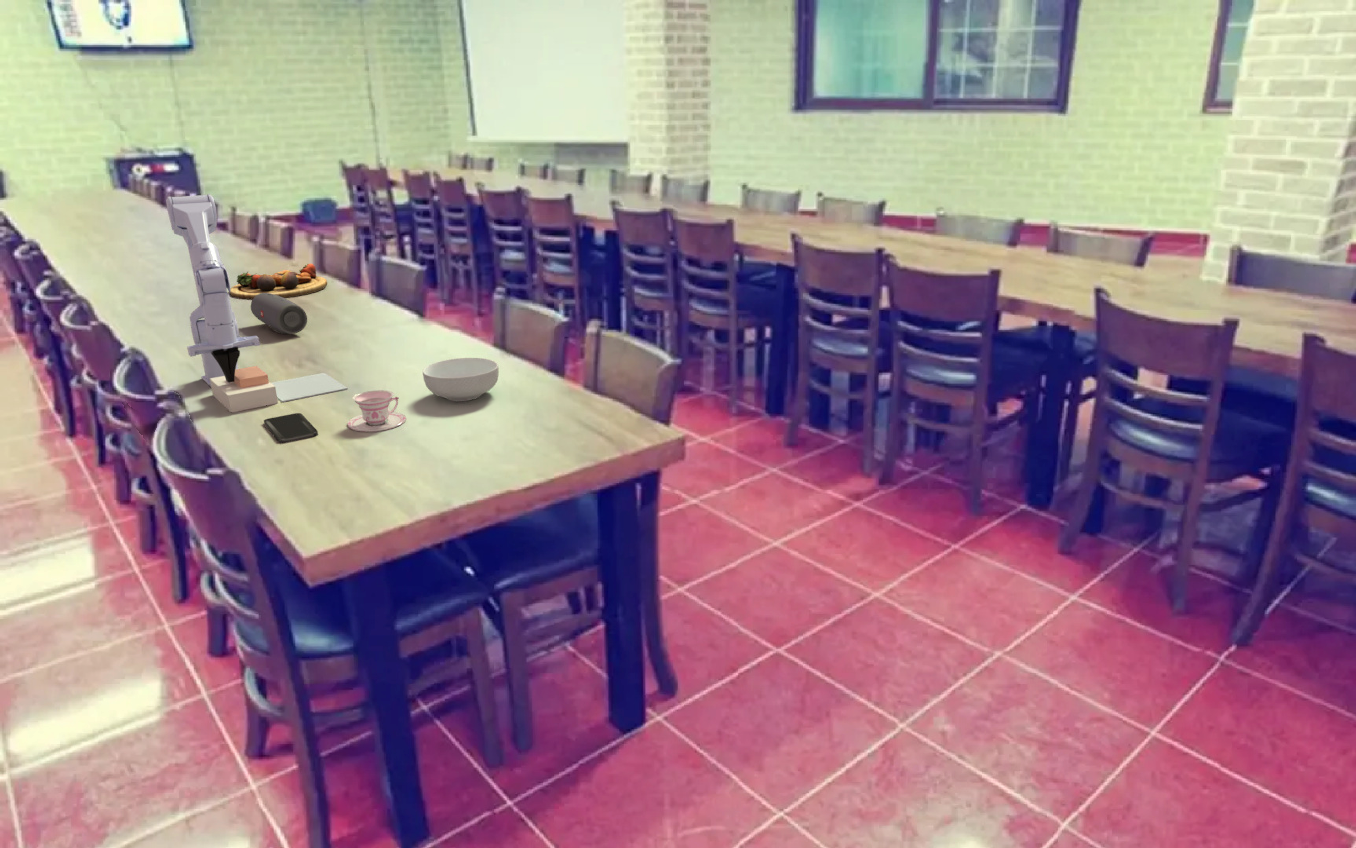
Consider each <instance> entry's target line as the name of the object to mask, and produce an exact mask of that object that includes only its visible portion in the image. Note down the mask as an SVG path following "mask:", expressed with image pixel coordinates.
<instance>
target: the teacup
mask: <svg viewBox="0 0 1356 848" xmlns="http://www.w3.org/2000/svg"><path fill="white" fill-rule="evenodd" d="M394 396H395V393H394V392H393V391H390V390H369V391H368V390H367V391H364V392H360V393H357V394H354V395H353V396H352V398H351V399H352V400H353V401H354V402H355V403H356V404H357V405H358V407H359V409H360V410H361V414H359V415H356V416H354V417H352V418H351V419H349V420H348V421H347V423H346V424H347V427H348V429H349V430H350V429H351V430H352V431H357V432H366V433H369V432H371V433H373V432H383V431H387V430H391V429H394V428H397V427H400V426H401V425H403V424H404V423H405V422H406V420H407V417H406V416H405V414H402V412H398V411H396V409H397V407H398V404H399V397H398V396H395V397H394ZM392 401H395V404H394V407H393V408H392V410H390V409H389V406H390V403H391V402H392ZM386 421H388V422H387V423H386ZM367 423H368V424H367ZM384 423H385V424H384Z"/></svg>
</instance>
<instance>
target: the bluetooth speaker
mask: <svg viewBox="0 0 1356 848" xmlns="http://www.w3.org/2000/svg"><path fill="white" fill-rule="evenodd" d="M250 310H251V314H253V316H254V317H255V318H256V319H257V320H259V321H260V322H262V323H263V324H265V325H267V326H269V327H270V328H271V330H273V331H274V332H276V333H278V334H281V335H286V334H287V335H288V334H291V335H292V334H293V335H294V334H297V333H300V332H302V331H303V330H304V329H305V328H306V326H307V323H308V316H307V312H306V311H305V310H304V309H303V308H302V307H301V306H300V305H298V304H297V303H295V302H293V301H291V300H290V299H288V298H283V297H280V296H277V295H274V294H271V293H260V294H258V295H256V296H255V297H254V298H253V299H251V302H250Z"/></svg>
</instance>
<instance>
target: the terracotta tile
mask: <svg viewBox="0 0 1356 848" xmlns="http://www.w3.org/2000/svg"><path fill="white" fill-rule="evenodd" d="M234 382H235V383H236V384H237V385H238V386H239V387H240V388H246V387H251V386H256V385H262V384H267V383H269V382H270V380H269V375H268V374H267V373H266V372H265V371H264V370H262V369H261V368H260V367H258V365H254V366H248V367H242V368H241V367H240V368H239V369H236V370H235V381H234Z"/></svg>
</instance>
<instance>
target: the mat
mask: <svg viewBox="0 0 1356 848" xmlns="http://www.w3.org/2000/svg"><path fill="white" fill-rule="evenodd" d="M271 383H272V384H273V385H274V386H275V388H276V394H277V400H278V401H280V402H281V403H285V402H286V401H287V402H291V401H296V400H301V399H305V398H310V397H315V396H321V395H325V394H326V395H327V394H331V393H336V392H340V391H345V390H348V389H349V388H348V387H347V386H345V385H344V384H343V383H341V382H339V381H338V380H336V379H335V378H333V377H332V376H330V375H329V374H327V373H326V372H321V373H316V374H315V373H314V374H311V375H310V374H309V375H305V376H304V375H303V376H300V377H293V378H290V379H283V380H278V381H271Z"/></svg>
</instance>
